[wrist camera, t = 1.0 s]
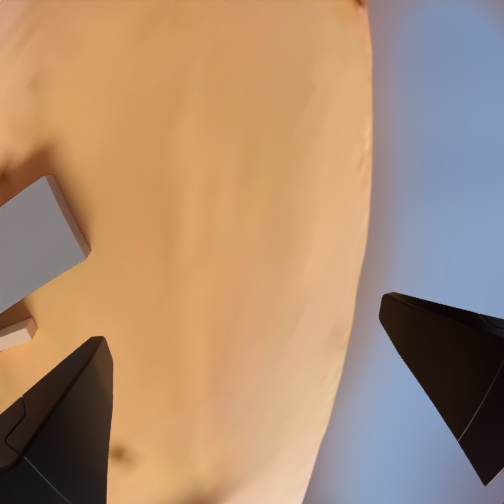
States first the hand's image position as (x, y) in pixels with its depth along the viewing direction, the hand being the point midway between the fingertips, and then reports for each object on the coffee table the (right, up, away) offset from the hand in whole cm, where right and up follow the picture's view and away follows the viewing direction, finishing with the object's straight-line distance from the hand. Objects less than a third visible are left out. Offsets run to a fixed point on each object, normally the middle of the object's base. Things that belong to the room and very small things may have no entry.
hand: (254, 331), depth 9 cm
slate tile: (-18, +2, +8) cm, 20 cm away
